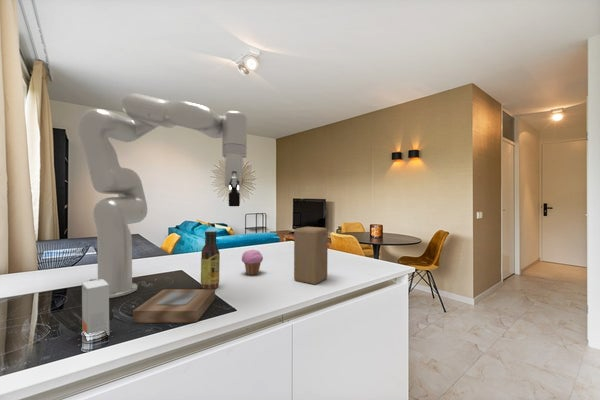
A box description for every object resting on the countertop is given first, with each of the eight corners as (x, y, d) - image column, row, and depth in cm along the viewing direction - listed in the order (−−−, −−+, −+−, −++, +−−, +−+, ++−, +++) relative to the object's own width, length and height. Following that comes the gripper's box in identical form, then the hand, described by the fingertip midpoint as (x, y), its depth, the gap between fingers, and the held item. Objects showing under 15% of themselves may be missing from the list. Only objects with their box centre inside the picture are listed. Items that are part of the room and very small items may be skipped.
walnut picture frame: (132, 322, 69) (132, 309, 69) (163, 298, 85) (163, 288, 85) (196, 322, 70) (196, 310, 70) (215, 298, 86) (215, 288, 86)
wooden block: (328, 278, 107) (328, 227, 107) (315, 285, 99) (316, 230, 99) (306, 274, 113) (306, 226, 112) (293, 280, 104) (293, 228, 104)
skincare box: (81, 333, 64) (81, 282, 64) (103, 327, 67) (103, 278, 67) (86, 342, 60) (86, 288, 60) (110, 335, 63) (109, 283, 63)
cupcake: (264, 275, 111) (264, 251, 110) (242, 277, 108) (242, 252, 108) (261, 270, 119) (261, 247, 119) (240, 271, 117) (240, 248, 117)
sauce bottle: (213, 291, 93) (213, 232, 92) (197, 289, 94) (196, 232, 94) (222, 284, 99) (222, 230, 99) (207, 283, 100) (207, 229, 100)
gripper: (223, 155, 94) (223, 204, 95) (221, 146, 78) (220, 206, 78) (245, 156, 96) (245, 204, 96) (247, 147, 79) (247, 206, 80)
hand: (234, 205), depth 87 cm, fingers open, 9 cm apart
